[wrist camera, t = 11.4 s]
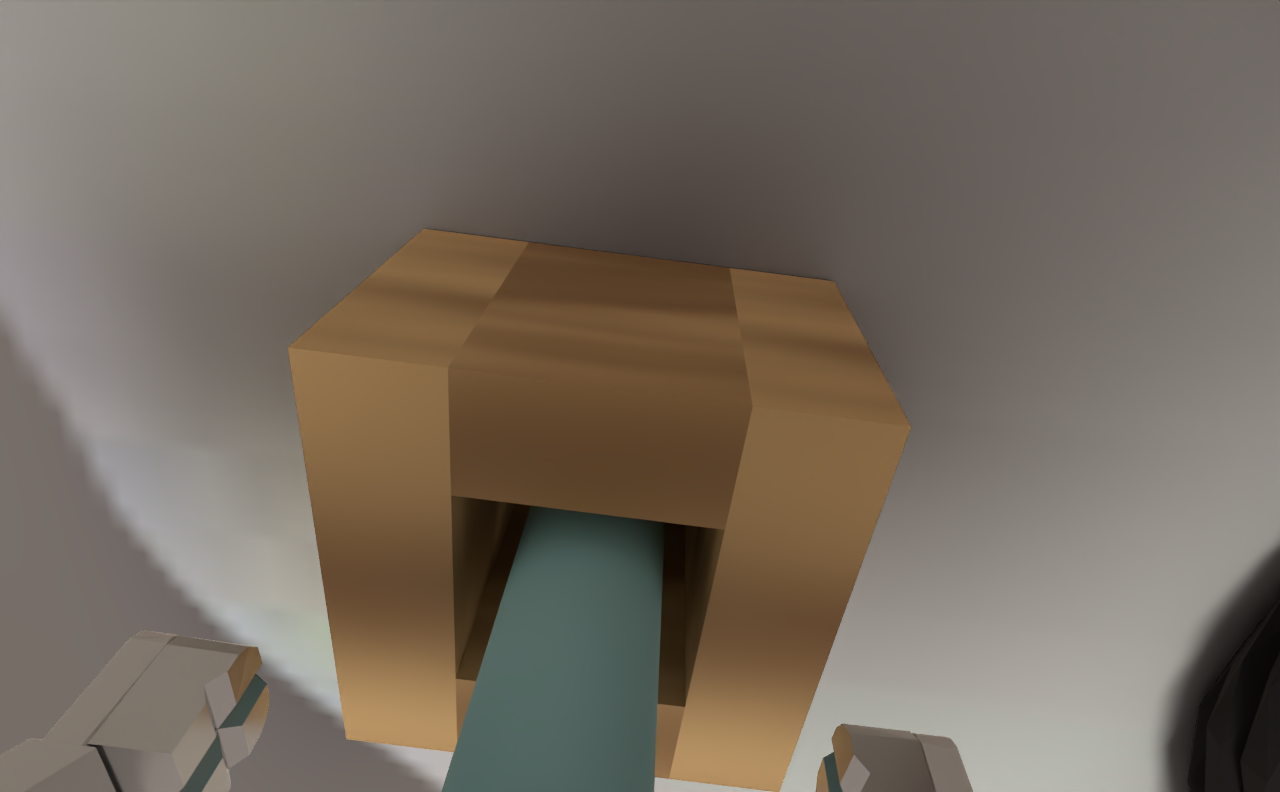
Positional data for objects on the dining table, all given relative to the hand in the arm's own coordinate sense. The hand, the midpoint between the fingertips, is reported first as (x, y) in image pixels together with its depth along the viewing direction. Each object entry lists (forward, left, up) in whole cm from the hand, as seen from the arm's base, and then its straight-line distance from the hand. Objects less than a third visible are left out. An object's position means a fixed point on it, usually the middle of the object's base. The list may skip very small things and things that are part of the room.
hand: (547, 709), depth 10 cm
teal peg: (+1, 0, -8) cm, 8 cm away
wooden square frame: (+1, 0, -8) cm, 8 cm away
